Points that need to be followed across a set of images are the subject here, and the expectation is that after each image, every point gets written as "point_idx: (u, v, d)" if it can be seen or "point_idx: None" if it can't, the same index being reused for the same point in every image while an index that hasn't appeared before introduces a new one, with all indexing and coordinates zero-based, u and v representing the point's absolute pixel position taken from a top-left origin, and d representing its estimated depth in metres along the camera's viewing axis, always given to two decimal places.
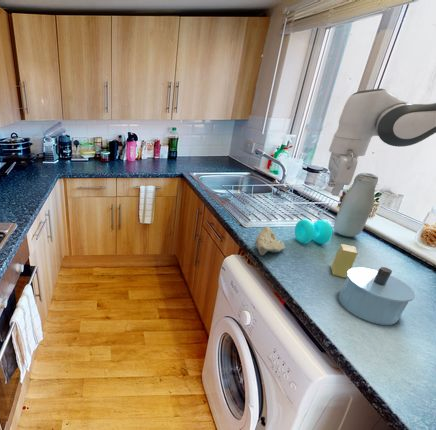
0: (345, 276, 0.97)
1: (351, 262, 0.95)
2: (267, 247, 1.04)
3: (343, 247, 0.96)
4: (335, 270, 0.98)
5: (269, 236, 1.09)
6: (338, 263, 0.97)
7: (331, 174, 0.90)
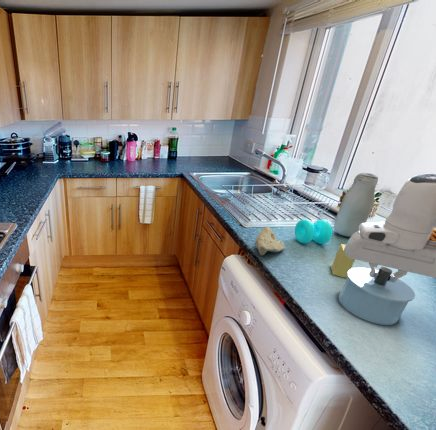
0: (345, 276, 0.97)
1: (351, 262, 0.95)
2: (267, 247, 1.04)
3: (343, 247, 0.96)
4: (335, 270, 0.98)
5: (269, 236, 1.09)
6: (338, 263, 0.97)
7: (391, 266, 0.77)
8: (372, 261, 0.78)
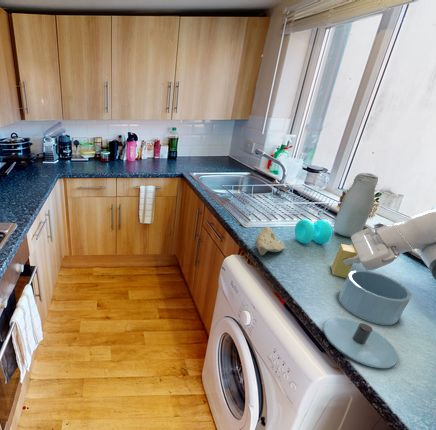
0: (345, 276, 0.97)
1: None
2: (267, 247, 1.04)
3: (343, 247, 0.96)
4: (335, 270, 0.98)
5: (269, 236, 1.09)
6: (338, 263, 0.97)
7: (356, 247, 0.95)
8: (354, 241, 0.98)
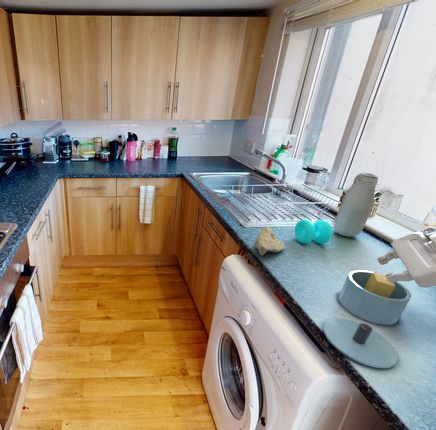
0: None
1: (386, 296, 0.79)
2: (267, 247, 1.04)
3: (377, 277, 0.80)
4: None
5: (269, 236, 1.09)
6: None
7: (402, 257, 0.76)
8: (398, 250, 0.79)
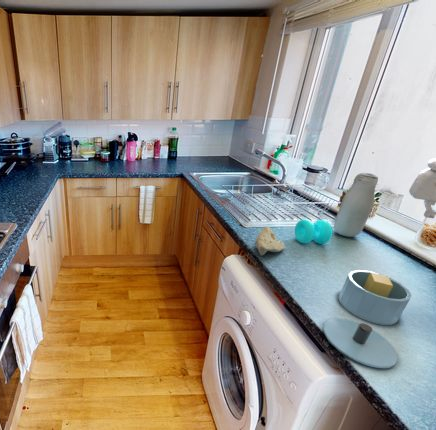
0: None
1: (384, 296, 0.79)
2: (267, 247, 1.04)
3: (374, 277, 0.81)
4: None
5: (269, 236, 1.09)
6: None
7: None
8: None
